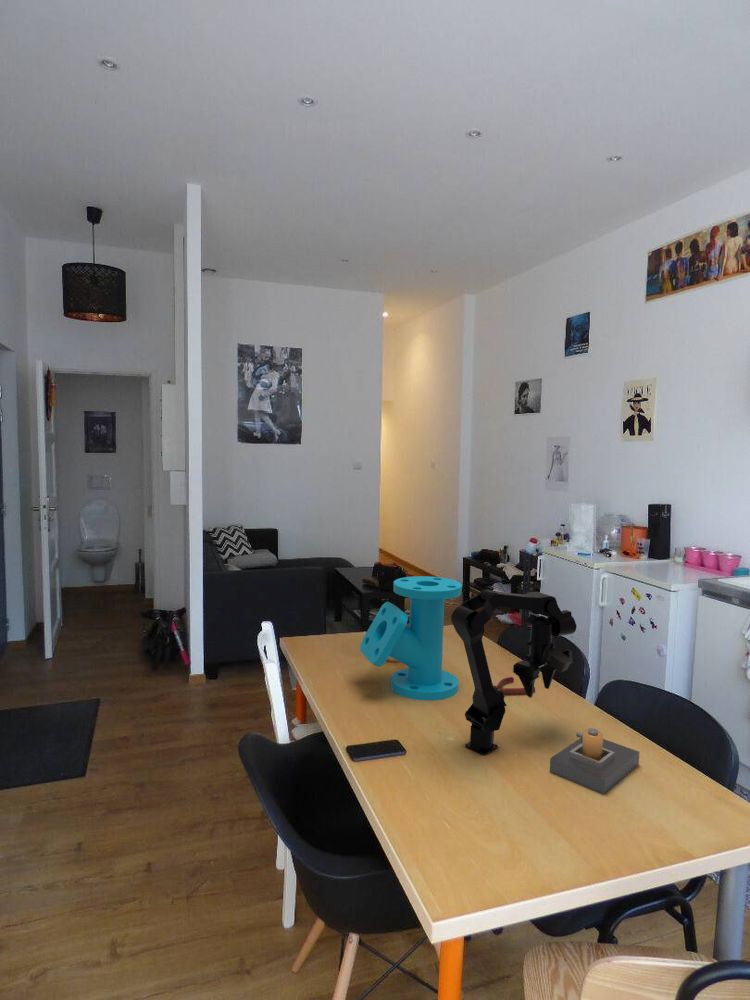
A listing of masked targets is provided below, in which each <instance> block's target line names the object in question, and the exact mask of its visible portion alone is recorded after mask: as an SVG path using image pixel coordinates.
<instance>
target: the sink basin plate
mask: <svg viewBox="0 0 750 1000" xmlns="http://www.w3.org/2000/svg"><path fill="white" fill-rule="evenodd" d="M639 763H640V751H638V750H635V749H632V748H630V747H627V746H624V745H622V744H619V743H616V742H613V741H610V740H609V739H604V738H603V750H602V759H601V760H599V761H597V760H595V759H592V758H590V757H587V756H584V755H582V738H578V739H577V740H575V741H574V742H572V743H571V744H569V745H568V746H566V747H565V748H563V749H562V750H560V751H559V752H557V753H556V754H555V755H553V756H551V757H550V758H549V773H551V774H554V775H557V776H558V777H561V778H564V779H566V780H568V781H570V782H573V783H575V784H578V785H580V786H582V787H585V788H587V789H590V790H592V791H594V792H597V793H599V794H602V795H606V794H607V793H608V792H609V791H610V790H611V789H613V787H615V786H616V785H617V784H619V782H621V781H622V780H623V779H624V778H625V777H627V776H628V775H629V774H630V773H631V772H632V771H634V770H635V769H636V768H637V767H638V766H639Z"/></svg>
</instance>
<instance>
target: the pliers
mask: <svg viewBox="0 0 750 1000" xmlns="http://www.w3.org/2000/svg"><path fill="white" fill-rule="evenodd" d="M514 681H515V678H514V677H512V676H510V677H509V676H508V677H505V678H501V680H499V682H498V683H497V684H496V685H494V684H493V687H494V688H496V689H498V690H499V691H501V692H503V695H504V698H505V697H506V696H527V694H526V691H525V689H524V687H521V688H520V687H513V688H511V687H510V688H507V687H506V688H505V687H504V686H506V685H509V684H513V683H514ZM503 687H504V688H503ZM535 692H536V687H535V686H534V689H533V694H534V693H535Z"/></svg>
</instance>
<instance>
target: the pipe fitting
mask: <svg viewBox="0 0 750 1000" xmlns="http://www.w3.org/2000/svg"><path fill="white" fill-rule="evenodd" d="M392 592H394V593H395V594H396V595H398V596H402V597H405V598H409V616H408V614H407V613H405V612H404V611H403V610H402V609H401V608H400V607H398V606H396V605H395V604H394V603H391V602H389V601H385V602H384V603H383V604H382V605H381V607H380V608H379V610H378V611H377V613H376V616H375V617H374V618H373V621H372V622H371V624H370V625H369V627H368V629H367V631H366V633H365V635H364V636H363V638H362V640H361V642H360V646H359V649H360V650H359V651H360V652H361V653H362V655H363V656H364V657H365V658H366V660H368V661H369V663H370V664H372V665H374V666H375V667H377V668H380V667H382V666H384V665H385V664H386V662H387V660H388V659H389V657H390V658H392V659H394V660H396V661H397V662H399V663H401V664H403V665H405V666H407V668H403V669H399V670H397V671H395V672H394V673H392V675H391V677H390V688H391V690H392V691H393V692H394V693H396V694H397V695H399V696H401V697H405V698H408V699H410V700H418V701H441V700H445V699H449V698H451V697H454V696H455V695H457V693H458V692H459V679H458V677H457V676H456V675H454V674H453V673H450V672H449V671H446V670H443V651H444V650H443V647H444V646H443V644H444V619H445V616H444V615H445V600H450V599H454V598H458V597H460V596H461V595H462V592H463V584H462V583H461V582H459V581H457V580H455V579H450V578H446V577H439V576H427V575H426V576H425V575H421V576H420V575H419V576H418V575H417V576H406V577H400V578H397V579H395V580H394V581H393V591H392ZM408 620H409V625H408V626H407V623H408Z"/></svg>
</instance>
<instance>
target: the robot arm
mask: <svg viewBox="0 0 750 1000" xmlns="http://www.w3.org/2000/svg"><path fill="white" fill-rule="evenodd" d="M480 608H482V609H480ZM496 608H504V609H514V610H522V611H523V610H524V611H529V612H532V613H536V614H538V615H539V616H538V615H536V614H531V613H530V615H529V616H528V617H526V619H525V620H524V622H525V623H527V624H528V625H529V624H530V639H529V640H527V641H526V642H527V643H526V645H527V646H529V654H526V660H523V659H522V660H520V661H518V662H515V663H514V664H513V666H512V673H514V674H515V675H516V676H518V679H519V680H520V682H521V685H522V686H523V687H522V688H524V689H525V691H526V694H527V695H526V696H527V697H528V698H533V694H534V693H533V689H534V687H535V682H536V680H537V679H538V678H540V675H539V674H540V671H541V677H542V681H543V687H544V688H545V689H547V690H549V689H550V686H551V684H552V681H553V678H554V676H555V673H556V671H557V672H558V673H564V672H565V671H567V670H569V667H570V665H571V664H573V662H574V661H573V659H574V658H573V651H572V650H570V649H569V648H567V649H565V650H563V651H562V650H559V649H556V644H555V643H556V642H554V641H553V637H562V636H569V635H573V634H574V633H575V632H576V630H577V624H576V620H575V618H574V616H573V615H572V611H570V610H568V609H565V610H564V609H563V610H561V608H560V607H559V605H558V601H557V599H556V597H555V596H552V595H549V594H547V593H543V592H540V591H529V592H526V593H521V594H520V593H513V592H504V591H493V590H490V589H483V590H481V591H480V592H479V593H478V594H477V595H475V596H473V597H471V598H469V599H467V600H465V601H464V602H462V603H461V604H460V605H459V606H457V607H456V608H455V609H454V610H453V612H452V613H451V616H450V618H451V619H450V620H451V624H452V625H453V628H454V630H455V632H456V634H457V635H458V637H459V638H460V639H461V641H462V642H463V646H464V649H465V653H466V657H467V658H466V659H467V661H468V665H469V670H470V673H471V674H470V675H471V677H472V681H473V686H474V691H473V694H472V703H471V705H470V706H469V707H468V709H467V710H466V711H465V712H464V717H465V720H466V721H467V722H469V723H471V725H470V737H469V738H470V739H469V742H467V743H466V744H465V746H464V747H465V748H467V749H470V750H471V751H474V752H476V753H478V754H481V755H483V756H486V755H488V754H489V753H491V752H493V751H494V750H496V749H498V748H499V745H498V744H496V743H494V740H495V736H494V735H495V731H500V727H501V725H502V721H503V719H504V716H505V714H506V707H507V703H506V702H505V697H504V695H503V692H501V691H499V690H498V689H496V688H494V687H493V685H494V684H493V681H492V676H491V673H490V672H491V671H490V668H489V664H488V659H487V656H486V651H485V647H484V643H483V637H484V635H485V630H486V629H485V625H486V624H487V623H488V622H489V621H490V620H491V617H492V616H493V613H494V611H495V610H496ZM479 609H480V610H479ZM477 610H479V611H477ZM527 660H528V661H527Z"/></svg>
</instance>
